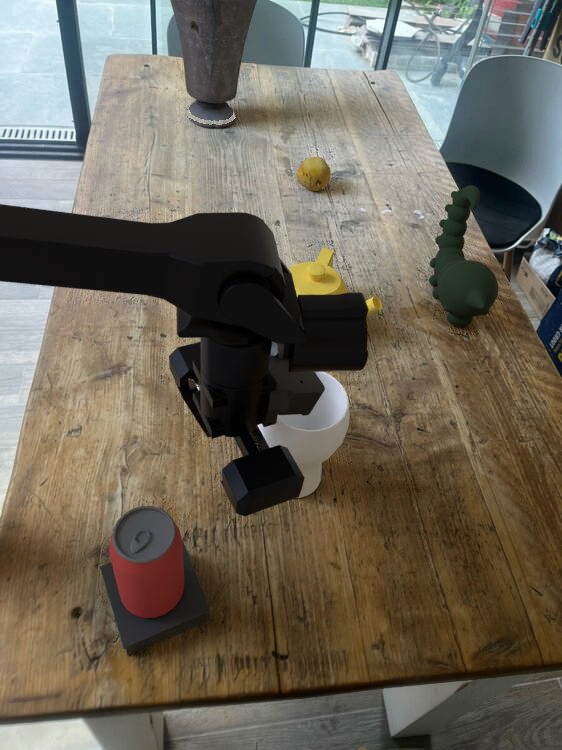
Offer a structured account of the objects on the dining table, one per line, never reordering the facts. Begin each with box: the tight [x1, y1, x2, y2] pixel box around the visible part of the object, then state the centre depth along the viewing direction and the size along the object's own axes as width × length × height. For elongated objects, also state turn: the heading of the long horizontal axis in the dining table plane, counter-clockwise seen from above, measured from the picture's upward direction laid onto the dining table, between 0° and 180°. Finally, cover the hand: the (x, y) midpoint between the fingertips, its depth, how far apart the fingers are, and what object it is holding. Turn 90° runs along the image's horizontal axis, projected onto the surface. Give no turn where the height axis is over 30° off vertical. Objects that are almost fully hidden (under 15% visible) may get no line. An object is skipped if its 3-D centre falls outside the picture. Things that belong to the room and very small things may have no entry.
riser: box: [99, 538, 211, 657], centre depth 62 cm, size 9×9×3 cm
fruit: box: [296, 156, 332, 192], centre depth 124 cm, size 7×7×10 cm
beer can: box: [108, 505, 184, 618], centre depth 56 cm, size 7×7×12 cm
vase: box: [169, 0, 258, 129], centre depth 134 cm, size 22×22×30 cm
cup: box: [258, 372, 351, 499], centre depth 70 cm, size 11×11×15 cm
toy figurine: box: [428, 185, 499, 328], centre depth 97 cm, size 9×19×25 cm
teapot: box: [288, 247, 383, 317], centre depth 92 cm, size 20×18×11 cm
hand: (227, 468), depth 60 cm, fingers open, 9 cm apart
